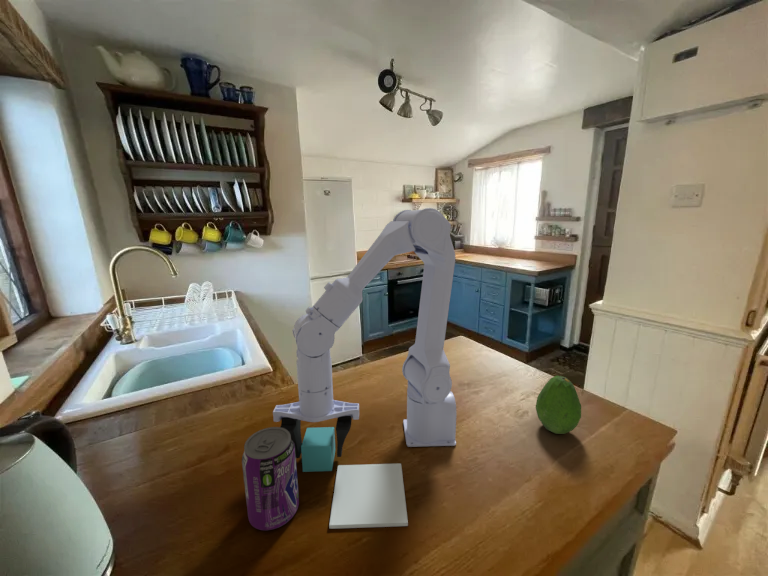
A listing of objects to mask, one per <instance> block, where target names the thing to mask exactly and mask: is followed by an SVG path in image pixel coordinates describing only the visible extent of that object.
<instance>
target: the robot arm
mask: <svg viewBox="0 0 768 576" xmlns="http://www.w3.org/2000/svg"><path fill="white" fill-rule="evenodd" d="M451 226H452V224H451V222H450V221H449V220H448V218H446V217H445V216H444V215H443V213H441V211H439V210H438V209H436V208H434V207H433V208H432V207H424V208H422V209H413V210H411V209H405V210H402V211H400V212H398V213H397V214H396V215H395V216H394V218H393V220H392V221H389V222H388V223H387V224H386V225H385V227H384V228H383V229H382V231H381V232H380V234H379V235H378V236H377V238H376V239H375V240H374V242H373V243H372V244H371V246H370V247H369V248H368V249H367V251H366V252H365V254H364V255H363V256H362V257H361V259H360V260H359V261H358V263H357V264H356V265H355V266H354V268H353V269H352V270H351V271H350V273H349V274H348V275H347V277H342V278H336V279H335V280H333V282H330V281H328V282H327V283H326V284H325V286H324V287H323V289H325V292H324V293H322V294H321V296H320V298H318V299H317V300H316V302H315V303H314V305H312V307H310V306H308V307H307V308H306V309H305V313H306V314H302V315H301V316H300V317H299V318H297V320H296V321H295V323H294V326H293V329H292V335H293V337H294V338H295V344H296V357H297V359H296V372H297V373H296V376H297V389H298V401H296V402H291V403H285V404H276V405H275V407H274V409H273V411H272V416H273V422H274V423H277V422H281V423H280V426H279V427H281V428H284V429H286V430H288V431H289V433H290V435H291V439H292V441H293V442H294V445H295V454H296V459H300V457H301V456H302V453H301V445H302V442H303V440H302V429H301V426H302V425H301V423H302V422H301V421H303V422H308V423H319V422H323V421H328V420H331V419H336V425H335V434H336V442H337V443H336V445H337V446H336V456H337V458H342V456H343V454H342V453H343V446H344V443H345V440H346V438H347V436H348V434H349V433H350V431H351V427H352V421H353V420H359V419H360V403H357V402H356V403H355V402H347V401H342V400H336V399H334V387H333V385H334V384H333V383H334V382H333V367H332V365H333V364H332V357H331V348H333V346H334V345H335V336H336V335H335V334H336V332H338V331H339V330H340V329H341V327H342V326H343V325H344V323H346V321H347V320H348V319H349V318H350V317H351V315H352V314H353V313H354V312H355V311H356V309H357V308H358V307H359V306H360V304H362V302H363V290H364V289H365V287H367V285H368V284H369V283H371V282H372V280H373V279H374V278H375V277H376V276H377V275H378V274H379V273H380V272H381V271H382V270H383V269H384V267H385V266H387V264H388V263H389V262H390V261H391V260H392V259H393V258H394V257H395V256H398V255H401V254H406V253H411V252H413V253H415V255H416V256H417V257H418V259H420V260H421V261H422V262H423V273H422V274H423V275H422V283H421V289H420V290H421V291H420V299H419V308H418V317H417V325H416V332H415V334H416V335H415V339H414V340H415V342H414V344H413V345H411V346H410V347H409V348H408V352H407V357H406V358H405V360H404V361H403V363H402V368H401V369H402V371H401V372H402V375H403V377H404V379H405V380H407V389H406V394H407V395H406V419H405V418H403V421H402V423H403V429H404V436H405V442H406V446H407V447H408V448H409V447H410V448H412V447H417V448H418V447H420V448H421V447H444V446H445V447H450V446H451V447H453V446H456V445H457V441H456V435H457V434H456V432H457V431H456V430H457V404H456V397H455V395H454V393H453V391H452V386H453V382H452V378H451V375H450V371H451V363H450V361H449V360H448V357H447V355H446V352H445V350H444V348H445V347H444V346H445V340H446V332H447V324H448V318H449V310H450V309H449V308H450V303H451V302H450V300H451V295H452V289H453V287H452V286H453V281H454V272H455V266H456V251H455V248H454V245H453V240H452V237H451V228H452V227H451Z"/></svg>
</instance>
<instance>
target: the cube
mask: <svg viewBox="0 0 768 576" xmlns="http://www.w3.org/2000/svg"><path fill="white" fill-rule="evenodd" d="M335 434H336V429H335V427H334V426H328V427H327V426H325V427H321V426H320V427H306V431H305V433H304V437H303V440H302V445H301V463H302V464H301V467H302V472H303V473H304V472H305V473H308V472H333V467H334V461H335V455H336V454H335V453H336V439H335V438H336V436H335Z"/></svg>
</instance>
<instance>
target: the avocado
mask: <svg viewBox="0 0 768 576" xmlns="http://www.w3.org/2000/svg"><path fill="white" fill-rule="evenodd" d="M535 411H536V416H537V417H538V418H537V419H538V420H539V421H540V423H541V424H542V425H543V427H544V428H545V429H546V430H547V431H549V432H552V433H554V434H555V435H556V434H562V435H563V434H567V433H569V432H570V433H571V432H572V431H573V430H575V429H576V427H577V426H578V424H579V423H580V420H581V418H582V405H581V402H580V398H579V395H578V393H577V391H576V388H575V386H574V384H573V383H572V381H571V380H570V379H568V378H567V377H566V376H562V375H554V376H553V377H551V378H549V379H548V380H547V382H546V383H545V385H544V386H543V388H542V389H541V390H540V392H539V394H538V396H537V397H536V402H535Z"/></svg>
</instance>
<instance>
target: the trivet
mask: <svg viewBox="0 0 768 576" xmlns="http://www.w3.org/2000/svg"><path fill="white" fill-rule="evenodd" d="M336 470H337V471H336V476H335V483H334V488H333V489H334V490H333V492H334V493H333V498H332V503H331V510H330V518H329V525H328V527H329V529H335V530H336V529H357V528H359V529H360V528H362V529H363V528H365V529H366V528H385V527H386V528H387V527H388V528H389V527H390V528H393V527H408V526H409V522H408V521H409V520H408V519H409V518H408V512H407V511H408V510H407V503H406V495H405V485H404V478H403V477H404V476H403V469H402V463H371V464H367V463H366V464H339V465H337V469H336Z"/></svg>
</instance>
